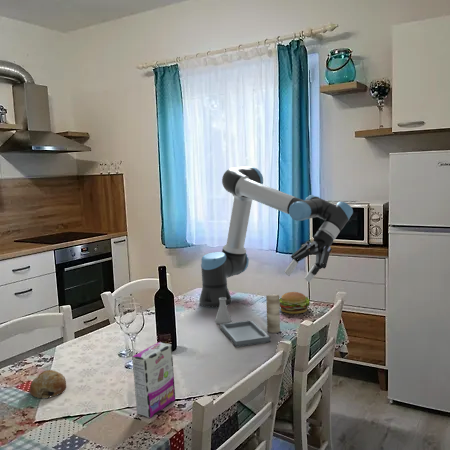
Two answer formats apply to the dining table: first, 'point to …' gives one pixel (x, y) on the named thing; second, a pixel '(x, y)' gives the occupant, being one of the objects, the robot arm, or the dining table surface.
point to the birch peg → (273, 313)
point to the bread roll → (48, 384)
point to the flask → (223, 313)
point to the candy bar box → (153, 379)
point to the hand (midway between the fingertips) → (296, 277)
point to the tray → (245, 333)
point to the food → (294, 303)
